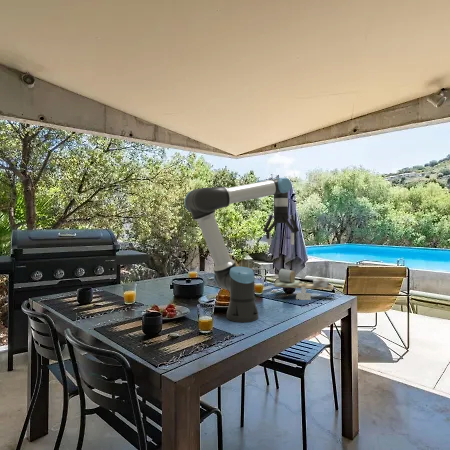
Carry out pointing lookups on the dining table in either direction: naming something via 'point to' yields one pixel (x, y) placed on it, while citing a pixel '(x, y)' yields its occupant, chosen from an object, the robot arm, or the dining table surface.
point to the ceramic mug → (286, 275)
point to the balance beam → (317, 284)
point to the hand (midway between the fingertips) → (280, 244)
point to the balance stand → (303, 294)
